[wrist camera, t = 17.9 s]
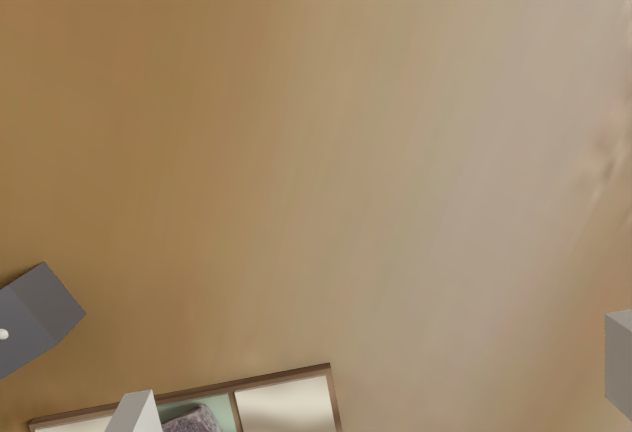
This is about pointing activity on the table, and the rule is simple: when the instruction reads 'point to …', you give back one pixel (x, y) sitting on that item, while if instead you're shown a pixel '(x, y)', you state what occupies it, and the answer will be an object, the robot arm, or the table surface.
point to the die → (34, 317)
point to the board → (233, 405)
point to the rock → (193, 421)
